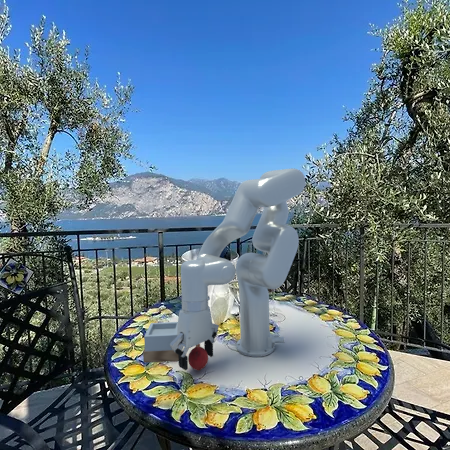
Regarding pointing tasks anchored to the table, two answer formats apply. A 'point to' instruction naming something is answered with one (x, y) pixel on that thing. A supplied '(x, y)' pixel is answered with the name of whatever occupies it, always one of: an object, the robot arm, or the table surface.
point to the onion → (198, 358)
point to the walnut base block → (159, 356)
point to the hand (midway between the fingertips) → (196, 361)
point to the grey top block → (160, 336)
